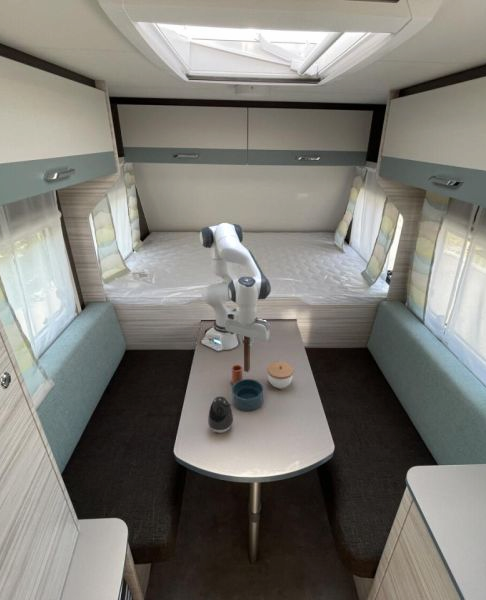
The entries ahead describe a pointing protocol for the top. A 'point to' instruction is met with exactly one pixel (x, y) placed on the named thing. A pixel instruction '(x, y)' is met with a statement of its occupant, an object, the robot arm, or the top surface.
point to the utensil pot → (237, 373)
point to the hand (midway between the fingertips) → (246, 343)
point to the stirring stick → (246, 354)
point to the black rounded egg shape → (220, 415)
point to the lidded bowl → (280, 374)
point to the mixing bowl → (247, 394)
